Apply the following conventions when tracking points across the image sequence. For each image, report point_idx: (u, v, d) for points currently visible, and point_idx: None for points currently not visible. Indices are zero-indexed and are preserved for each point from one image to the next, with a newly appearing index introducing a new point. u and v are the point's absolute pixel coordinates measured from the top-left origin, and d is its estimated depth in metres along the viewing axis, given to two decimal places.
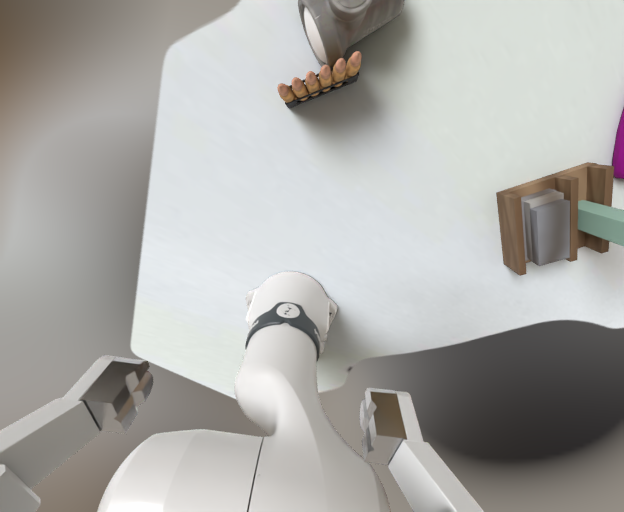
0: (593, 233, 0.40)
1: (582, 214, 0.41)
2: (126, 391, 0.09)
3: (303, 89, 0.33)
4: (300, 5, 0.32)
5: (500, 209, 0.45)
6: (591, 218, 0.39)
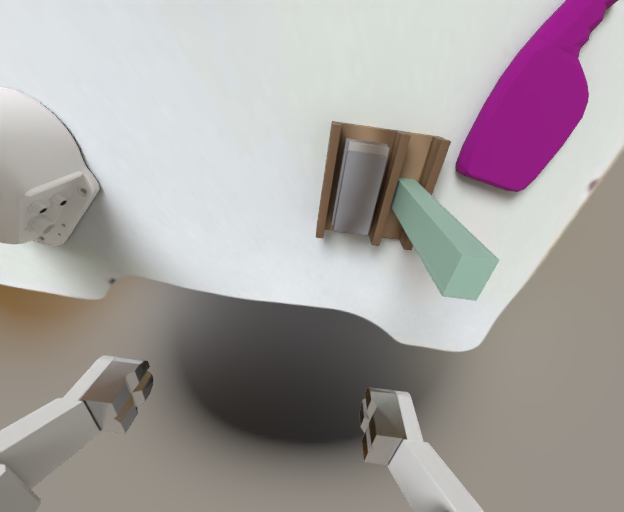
0: (397, 214, 0.32)
1: (399, 190, 0.32)
2: (126, 391, 0.09)
3: None
4: None
5: (328, 146, 0.34)
6: (402, 194, 0.31)
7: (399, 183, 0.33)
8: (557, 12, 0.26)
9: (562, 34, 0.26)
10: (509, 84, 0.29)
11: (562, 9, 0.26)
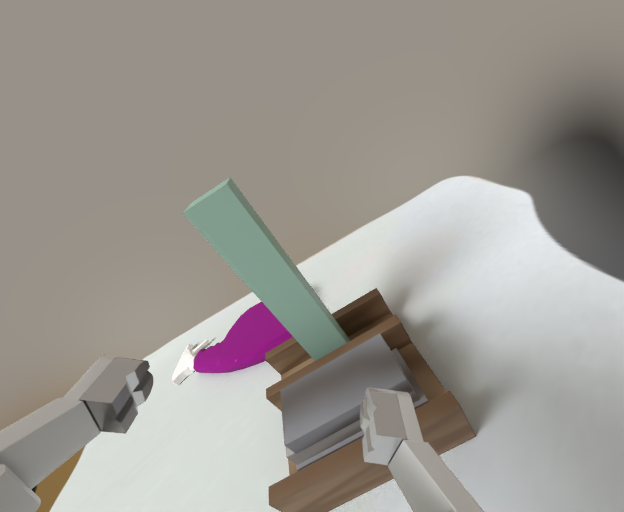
0: (331, 327, 0.24)
1: (318, 353, 0.25)
2: (126, 391, 0.09)
3: None
4: None
5: (332, 504, 0.19)
6: (310, 342, 0.24)
7: None
8: (206, 370, 0.38)
9: (212, 356, 0.39)
10: (236, 357, 0.35)
11: (204, 369, 0.39)
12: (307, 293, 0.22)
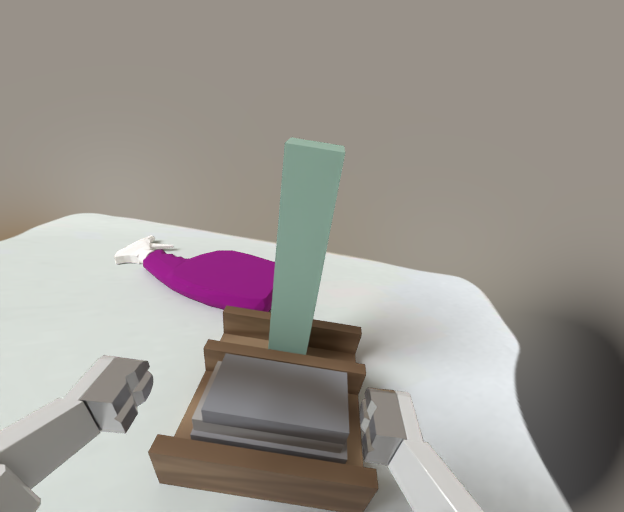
0: (307, 333, 0.23)
1: (277, 344, 0.24)
2: (126, 391, 0.09)
3: None
4: None
5: (199, 485, 0.18)
6: (279, 332, 0.23)
7: None
8: (153, 272, 0.35)
9: (169, 265, 0.36)
10: (191, 284, 0.33)
11: (153, 270, 0.36)
12: (316, 293, 0.21)
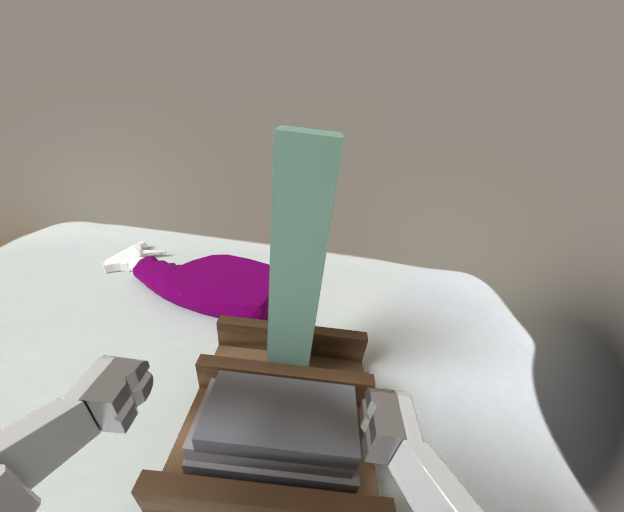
0: (308, 343, 0.21)
1: (276, 356, 0.22)
2: (126, 391, 0.09)
3: None
4: None
5: None
6: (278, 343, 0.21)
7: None
8: (144, 280, 0.34)
9: (160, 272, 0.34)
10: (183, 292, 0.31)
11: (143, 278, 0.34)
12: (317, 299, 0.19)
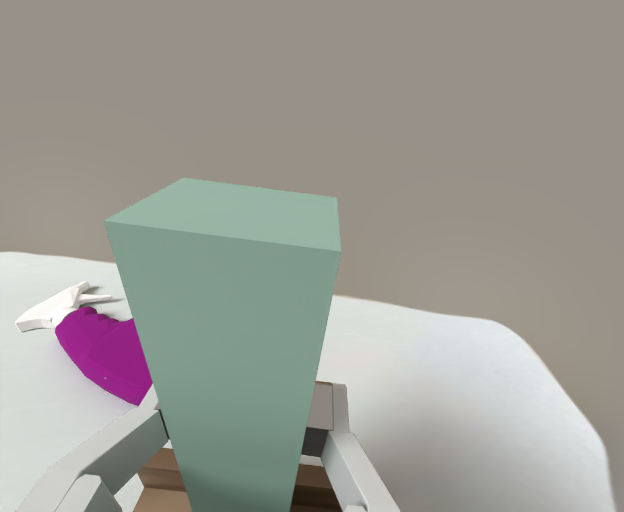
0: None
1: None
2: None
3: None
4: None
5: None
6: None
7: None
8: (65, 348, 0.24)
9: (88, 337, 0.25)
10: (110, 375, 0.22)
11: (64, 345, 0.25)
12: (286, 510, 0.09)
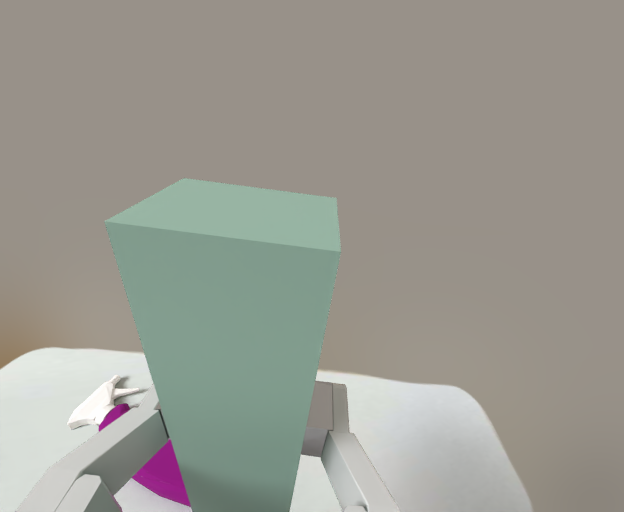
0: None
1: None
2: None
3: None
4: None
5: None
6: None
7: None
8: None
9: None
10: (145, 473, 0.29)
11: None
12: (286, 510, 0.09)
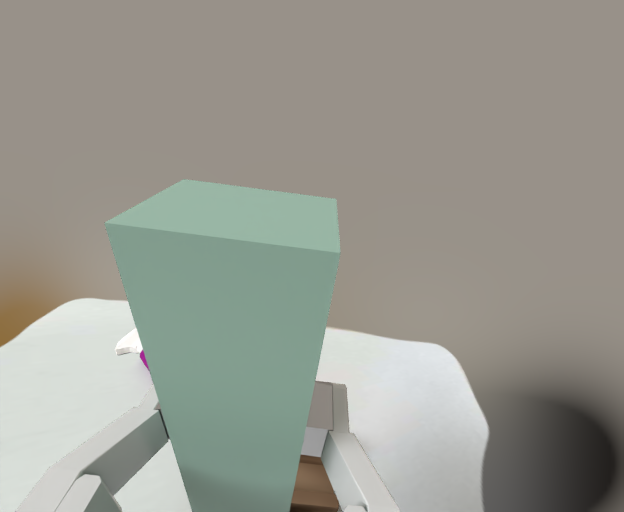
0: None
1: None
2: None
3: None
4: None
5: None
6: None
7: None
8: (148, 368, 0.39)
9: None
10: None
11: None
12: (286, 510, 0.09)
